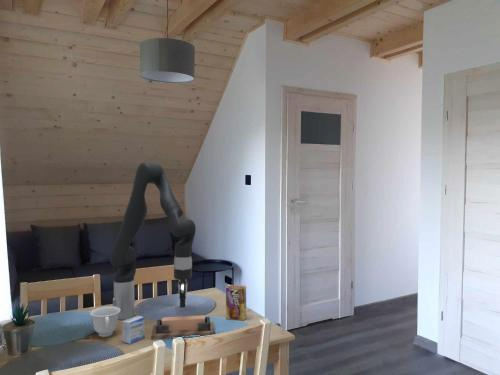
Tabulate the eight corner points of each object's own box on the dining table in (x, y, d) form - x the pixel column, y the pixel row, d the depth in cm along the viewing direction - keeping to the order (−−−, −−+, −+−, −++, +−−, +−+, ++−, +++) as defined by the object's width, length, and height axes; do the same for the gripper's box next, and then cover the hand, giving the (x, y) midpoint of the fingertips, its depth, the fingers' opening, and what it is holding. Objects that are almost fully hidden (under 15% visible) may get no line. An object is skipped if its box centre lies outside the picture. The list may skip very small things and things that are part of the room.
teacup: (91, 345, 162) (91, 320, 161) (90, 331, 176) (89, 308, 175) (123, 339, 167) (122, 315, 166) (119, 327, 180) (119, 304, 180)
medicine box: (130, 344, 162) (129, 323, 162) (122, 342, 165) (122, 320, 164) (144, 337, 169) (144, 316, 169) (137, 335, 171) (137, 314, 171)
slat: (161, 331, 172) (161, 320, 171) (162, 327, 176) (162, 317, 175) (205, 329, 174) (204, 318, 174) (204, 325, 178) (204, 315, 178)
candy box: (246, 317, 192) (246, 285, 192) (244, 320, 188) (244, 287, 187) (228, 315, 194) (228, 284, 193) (225, 319, 190) (225, 286, 189)
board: (151, 339, 167) (151, 328, 167) (153, 328, 179) (153, 318, 179) (215, 335, 171) (214, 325, 170) (213, 325, 183) (213, 315, 182)
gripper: (174, 263, 179) (174, 302, 180) (173, 270, 166) (172, 312, 167) (191, 262, 180) (191, 301, 181) (191, 270, 167) (191, 312, 168)
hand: (182, 306), depth 174 cm, fingers closed
